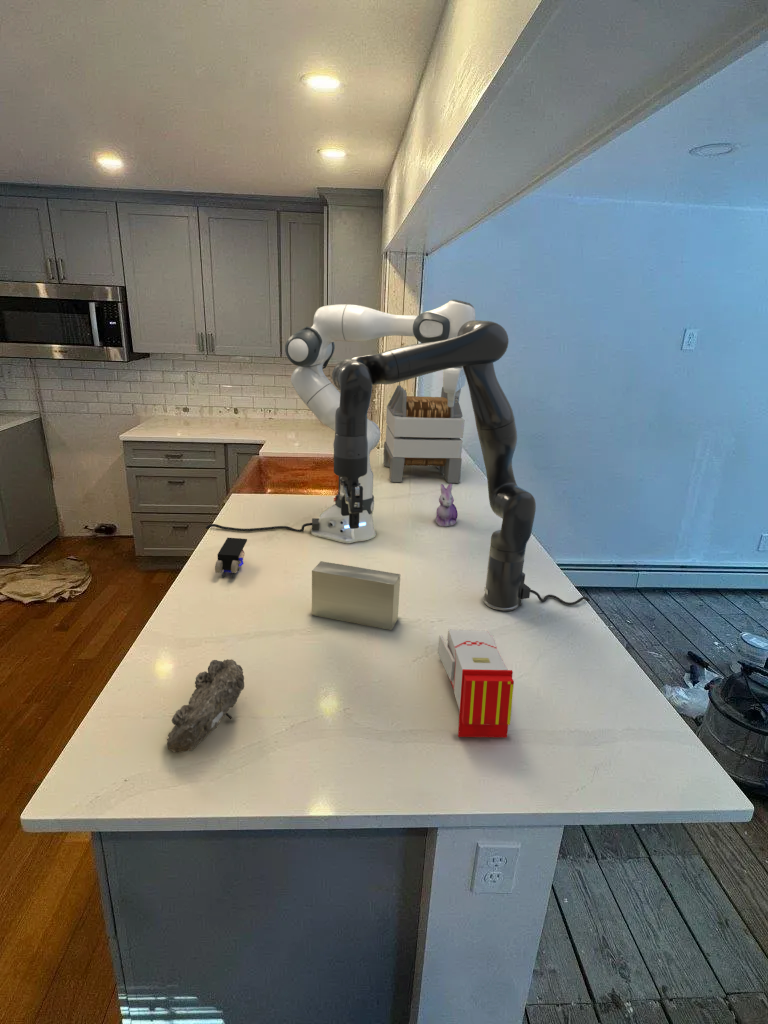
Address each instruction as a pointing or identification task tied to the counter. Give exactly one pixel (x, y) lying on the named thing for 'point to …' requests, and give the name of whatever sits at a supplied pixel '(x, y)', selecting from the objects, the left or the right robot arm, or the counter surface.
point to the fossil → (206, 705)
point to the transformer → (423, 435)
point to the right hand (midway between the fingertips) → (349, 521)
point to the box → (355, 595)
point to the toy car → (230, 556)
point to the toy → (478, 682)
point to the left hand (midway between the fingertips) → (453, 404)
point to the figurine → (446, 508)
